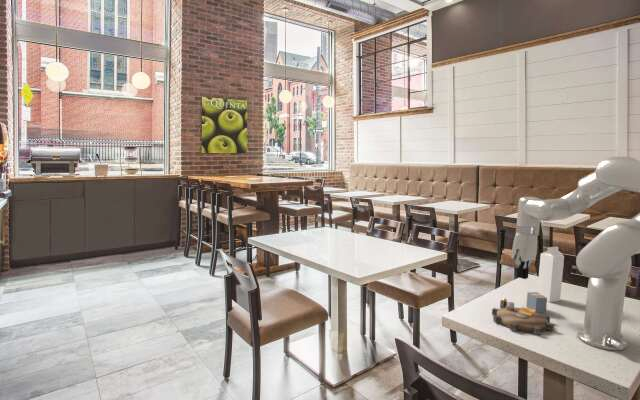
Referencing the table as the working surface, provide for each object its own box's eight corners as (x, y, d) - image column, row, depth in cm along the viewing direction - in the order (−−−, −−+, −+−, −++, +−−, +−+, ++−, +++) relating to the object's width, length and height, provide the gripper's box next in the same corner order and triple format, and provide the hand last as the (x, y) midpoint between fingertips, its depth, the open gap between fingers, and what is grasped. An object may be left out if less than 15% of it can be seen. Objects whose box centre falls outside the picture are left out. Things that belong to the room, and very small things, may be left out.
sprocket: (566, 334, 128) (568, 321, 128) (508, 334, 127) (509, 321, 127) (532, 310, 148) (533, 299, 147) (481, 310, 147) (482, 299, 146)
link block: (545, 313, 146) (547, 297, 146) (535, 313, 146) (536, 297, 145) (536, 307, 152) (537, 292, 151) (526, 307, 152) (527, 292, 151)
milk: (536, 297, 162) (540, 245, 160) (547, 295, 164) (551, 244, 162) (549, 302, 157) (554, 249, 154) (560, 301, 159) (565, 248, 156)
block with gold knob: (507, 310, 149) (508, 299, 148) (503, 310, 149) (504, 299, 148) (504, 307, 151) (504, 296, 150) (500, 307, 151) (500, 296, 150)
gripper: (527, 226, 152) (522, 271, 154) (506, 230, 143) (502, 278, 146) (547, 230, 146) (542, 277, 148) (527, 234, 137) (522, 284, 140)
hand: (522, 277), depth 147 cm, fingers closed
